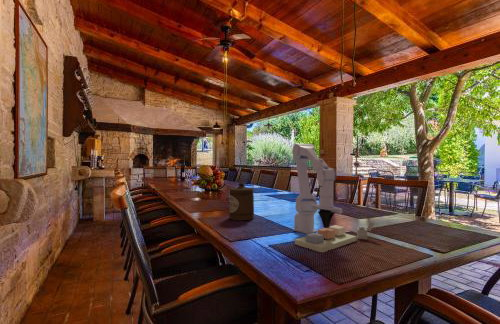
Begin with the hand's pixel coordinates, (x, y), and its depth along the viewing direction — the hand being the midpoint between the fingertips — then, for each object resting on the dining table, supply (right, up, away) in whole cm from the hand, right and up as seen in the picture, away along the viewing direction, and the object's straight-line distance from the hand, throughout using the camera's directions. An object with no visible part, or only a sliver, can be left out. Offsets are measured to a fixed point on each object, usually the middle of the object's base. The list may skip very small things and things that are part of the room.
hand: (326, 227), depth 121 cm
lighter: (+19, -7, +6) cm, 21 cm away
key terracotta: (0, -4, 0) cm, 4 cm away
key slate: (-6, -5, -5) cm, 9 cm away
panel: (0, -7, 0) cm, 6 cm away
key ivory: (+6, -4, +5) cm, 9 cm away
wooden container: (-38, -6, +48) cm, 61 cm away
